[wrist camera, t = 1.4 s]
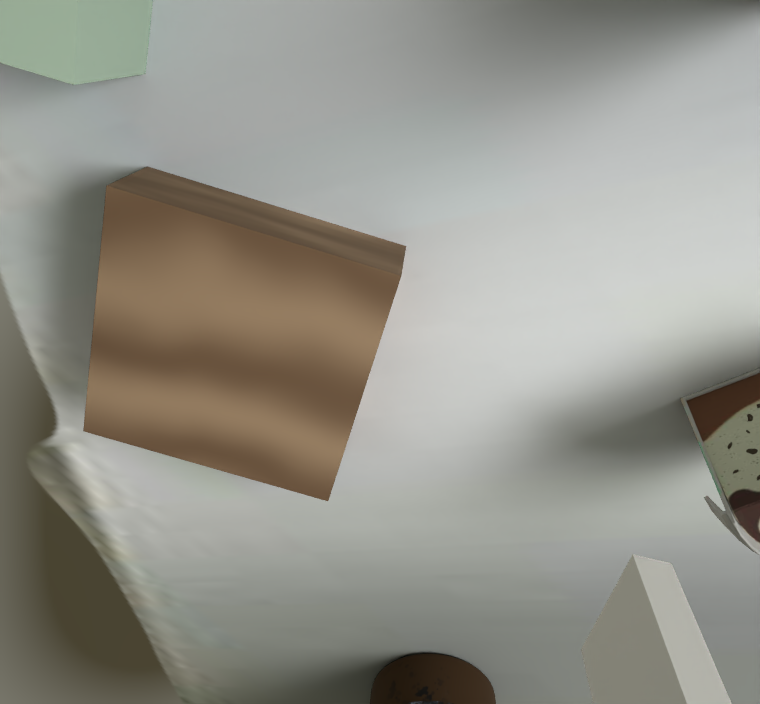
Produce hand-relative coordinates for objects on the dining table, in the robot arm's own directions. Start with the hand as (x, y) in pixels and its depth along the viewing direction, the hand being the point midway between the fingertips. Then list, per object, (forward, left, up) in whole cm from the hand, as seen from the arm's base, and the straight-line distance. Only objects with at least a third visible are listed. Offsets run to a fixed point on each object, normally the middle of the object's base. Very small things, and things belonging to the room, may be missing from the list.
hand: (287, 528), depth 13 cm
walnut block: (+8, -6, -24) cm, 26 cm away
